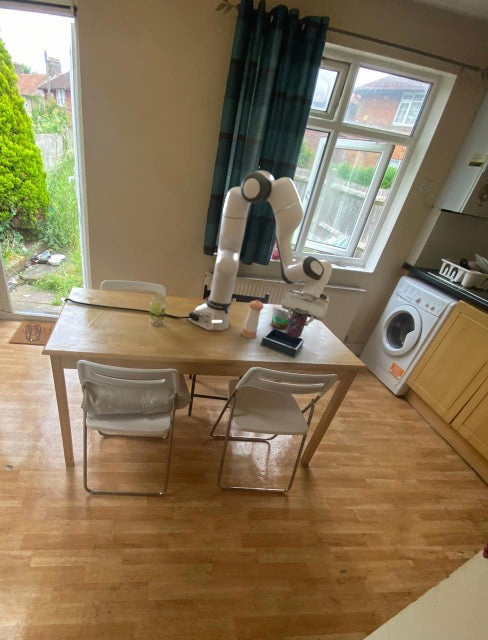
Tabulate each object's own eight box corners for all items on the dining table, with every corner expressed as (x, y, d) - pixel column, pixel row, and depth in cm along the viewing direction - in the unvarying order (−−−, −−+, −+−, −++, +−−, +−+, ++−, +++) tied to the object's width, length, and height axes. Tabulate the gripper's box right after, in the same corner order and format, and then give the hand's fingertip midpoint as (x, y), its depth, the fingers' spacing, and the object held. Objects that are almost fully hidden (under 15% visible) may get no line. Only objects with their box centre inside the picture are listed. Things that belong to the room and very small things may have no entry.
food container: (265, 326, 187) (270, 309, 181) (268, 322, 192) (273, 306, 185) (286, 333, 183) (292, 316, 177) (289, 329, 188) (295, 312, 182)
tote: (260, 344, 169) (263, 337, 166) (270, 334, 179) (273, 327, 176) (293, 357, 163) (296, 349, 160) (302, 346, 173) (304, 339, 170)
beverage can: (282, 332, 155) (290, 307, 148) (293, 330, 158) (302, 306, 151) (291, 339, 150) (300, 314, 143) (303, 337, 153) (312, 313, 146)
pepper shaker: (246, 330, 180) (255, 296, 168) (257, 335, 177) (267, 301, 165) (239, 334, 175) (247, 299, 163) (250, 339, 172) (260, 304, 160)
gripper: (288, 285, 151) (275, 311, 150) (333, 298, 144) (319, 326, 143) (288, 292, 157) (275, 317, 156) (331, 305, 150) (318, 332, 149)
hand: (297, 322), depth 150 cm, fingers closed on beverage can, 7 cm apart
